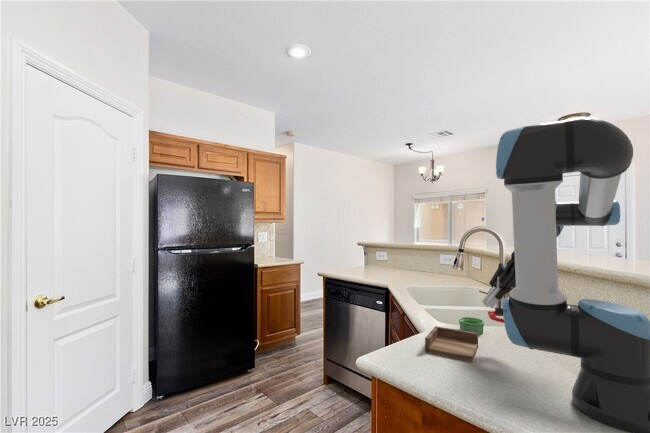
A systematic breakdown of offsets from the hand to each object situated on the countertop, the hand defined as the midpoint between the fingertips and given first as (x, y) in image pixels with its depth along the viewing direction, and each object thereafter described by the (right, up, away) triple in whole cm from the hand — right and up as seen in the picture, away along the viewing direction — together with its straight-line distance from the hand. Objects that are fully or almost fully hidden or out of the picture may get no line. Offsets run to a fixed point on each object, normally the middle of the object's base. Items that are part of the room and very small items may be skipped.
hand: (487, 304), depth 101 cm
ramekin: (+4, -16, +18) cm, 25 cm away
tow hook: (+4, -4, -2) cm, 6 cm away
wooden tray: (-11, -15, +1) cm, 19 cm away
